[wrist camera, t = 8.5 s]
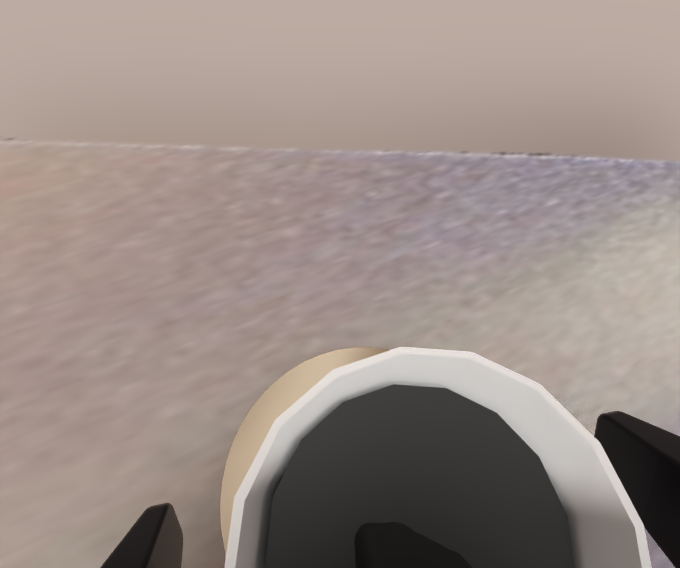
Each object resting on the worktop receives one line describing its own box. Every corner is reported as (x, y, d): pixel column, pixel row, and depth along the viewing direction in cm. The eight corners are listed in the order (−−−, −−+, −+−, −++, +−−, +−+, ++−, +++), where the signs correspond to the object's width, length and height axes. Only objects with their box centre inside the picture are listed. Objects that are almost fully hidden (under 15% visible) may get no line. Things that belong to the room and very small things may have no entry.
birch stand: (469, 370, 22) (499, 353, 18) (488, 635, 17) (532, 684, 14) (255, 360, 21) (240, 340, 18) (224, 625, 17) (196, 672, 14)
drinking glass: (480, 587, 15) (745, 814, 5) (290, 620, 14) (228, 934, 5) (439, 394, 17) (573, 325, 8) (276, 416, 17) (214, 369, 7)
